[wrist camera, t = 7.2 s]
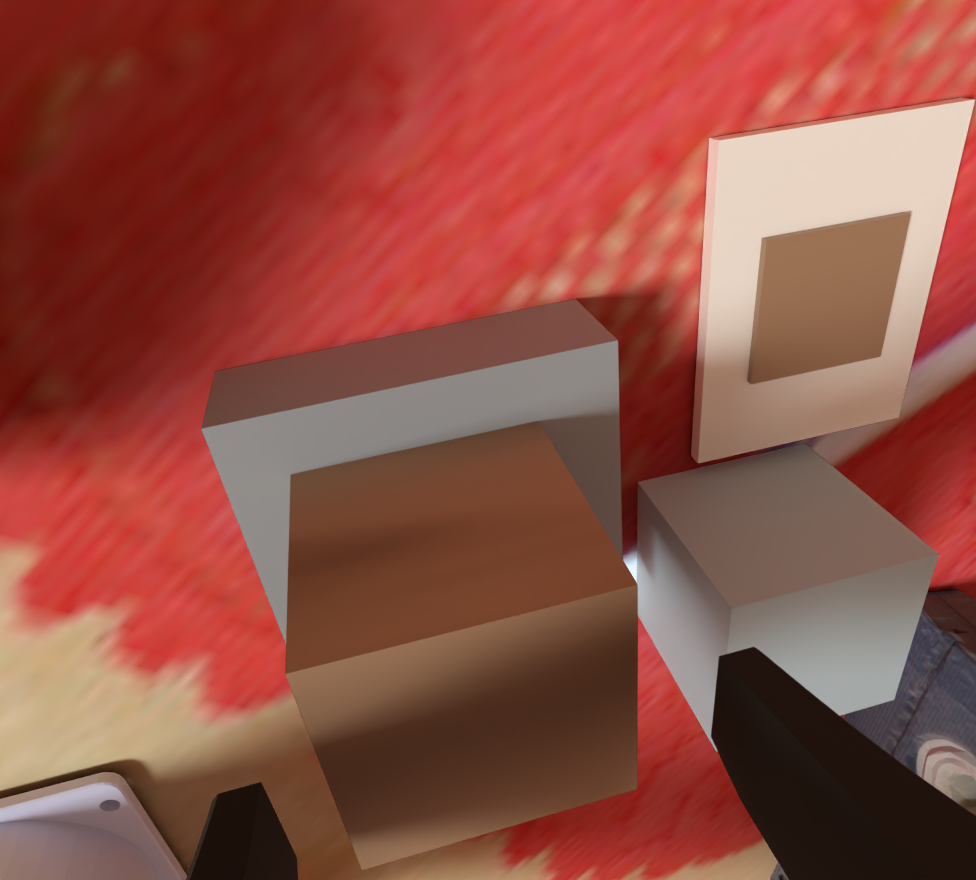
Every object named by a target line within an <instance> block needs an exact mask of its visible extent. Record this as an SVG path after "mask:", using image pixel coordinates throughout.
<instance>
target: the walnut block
mask: <svg viewBox="0 0 976 880" xmlns="http://www.w3.org/2000/svg"><path fill="white" fill-rule="evenodd" d="M285 675H286V677H287V680H288V682H289V685H290V687H291V690H292V693H293V695H294V698H295V700H296V703H297V705H298V708H299V711H300V713H301V716H302V718H303V721H304V723H305V726H306V728H307V731H308V734H309V736H310V739H311V741H312V744H313V746H314V749H315V752H316V754H317V757H318V759H319V762H320V764H321V767H322V769H323V772H324V775H325V777H326V780H327V782H328V785H329V787H330V790H331V793H332V795H333V798H334V800H335V803H336V805H337V808H338V810H339V813H340V816H341V818H342V821H343V823H344V826H345V828H346V831H347V833H348V836H349V839H350V841H351V844H352V846H353V849H354V851H355V854H356V857H357V859H358V862H359V864H360V867H361V869H362V870H365V869H368V868H372V867H375V866H378V865H382V864H385V863H389V862H392V861H395V860H399V859H402V858H406V857H409V856H412V855H416V854H419V853H422V852H426V851H429V850H433V849H436V848H439V847H443V846H446V845H450V844H453V843H456V842H460V841H463V840H467V839H470V838H473V837H477V836H480V835H483V834H487V833H490V832H494V831H497V830H500V829H504V828H507V827H511V826H514V825H517V824H521V823H524V822H528V821H531V820H534V819H538V818H541V817H545V816H548V815H551V814H555V813H558V812H561V811H565V810H568V809H572V808H575V807H578V806H582V805H585V804H589V803H592V802H595V801H599V800H602V799H606V798H609V797H612V796H616V795H619V794H622V793H626V792H629V791H633V790H636V789H637V679H638V584H637V583H636V581H635V579H634V578H633V576H632V575H631V573H630V571H629V570H628V568H627V566H626V565H625V563H624V561H623V560H622V558H621V556H620V555H619V553H618V551H617V550H616V548H615V547H614V545H613V543H612V542H611V540H610V538H609V537H608V535H607V533H606V532H605V530H604V528H603V527H602V525H601V523H600V522H599V520H598V519H597V517H596V515H595V514H594V512H593V510H592V509H591V507H590V505H589V504H588V502H587V500H586V499H585V497H584V495H583V494H582V492H581V491H580V489H579V487H578V486H577V484H576V482H575V481H574V479H573V477H572V476H571V474H570V472H569V471H568V469H567V467H566V466H565V464H564V463H563V461H562V459H561V458H560V456H559V454H558V453H557V451H556V449H555V448H554V446H553V444H552V443H551V441H550V439H549V438H548V436H547V435H546V433H545V431H544V430H543V428H542V426H541V425H540V423H539V421H536V422H531V423H526V424H522V425H517V426H513V427H508V428H503V429H499V430H494V431H489V432H485V433H480V434H475V435H471V436H466V437H461V438H457V439H452V440H447V441H443V442H438V443H433V444H429V445H424V446H419V447H415V448H410V449H405V450H401V451H396V452H392V453H387V454H382V455H378V456H373V457H369V458H364V459H359V460H355V461H350V462H346V463H341V464H336V465H332V466H327V467H322V468H318V469H313V470H309V471H304V472H299V473H295V474H291V475H290V513H289V551H288V589H287V628H286V666H285Z"/></svg>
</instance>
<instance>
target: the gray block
mask: <svg viewBox="0 0 976 880" xmlns="http://www.w3.org/2000/svg"><path fill="white" fill-rule="evenodd" d="M938 556H939V554H938V553H937V552H936V551H935V550H934V549H932V548H931V547H930V546H929V545H927V544H926V543H925V542H924V541H923V540H921V539H920V538H919V537H918V536H917V535H915V534H914V533H913V532H912V531H911V530H909V529H908V528H907V527H906V526H904V525H903V524H902V523H901V522H900V521H898V520H897V519H896V518H895V517H894V516H892V515H891V514H890V513H889V512H887V511H886V510H885V509H884V508H883V507H881V506H880V505H879V504H878V503H877V502H875V501H874V500H873V499H872V498H871V497H869V496H868V495H867V494H866V493H864V492H863V491H862V490H861V489H860V488H858V487H857V486H856V485H855V484H854V483H852V482H851V481H850V480H849V479H847V478H846V477H845V476H844V475H843V474H841V473H840V472H839V471H838V470H837V469H835V468H834V467H833V466H832V465H831V464H829V463H828V462H827V461H826V460H824V459H823V458H822V457H821V456H820V455H818V454H817V453H816V452H815V451H814V450H812V449H811V448H810V447H809V446H807V445H806V444H805V443H804V444H800V445H795V446H791V447H787V448H782V449H778V450H774V451H769V452H765V453H761V454H756V455H752V456H748V457H743V458H739V459H735V460H730V461H726V462H722V463H718V464H713V465H709V466H705V467H700V468H696V469H692V470H687V471H683V472H679V473H674V474H670V475H666V476H661V477H657V478H653V479H648V480H644V481H640V482H638V502H637V584H638V617H639V618H640V620H641V622H642V623H643V625H644V627H645V629H646V630H647V632H648V634H649V636H650V637H651V639H652V641H653V643H654V644H655V646H656V648H657V650H658V651H659V653H660V655H661V657H662V658H663V660H664V662H665V664H666V665H667V667H668V669H669V671H670V672H671V674H672V676H673V677H674V679H675V681H676V683H677V684H678V686H679V688H680V690H681V691H682V693H683V695H684V697H685V698H686V700H687V702H688V704H689V705H690V707H691V709H692V711H693V712H694V714H695V716H696V718H697V719H698V721H699V723H700V725H701V726H702V728H703V730H704V732H705V733H706V735H707V737H708V738H709V740H710V742H711V744H712V745H713V747H714V749H715V751H716V752H717V748H716V746H715V744H714V742H713V740H712V738H711V730H712V720H713V710H714V700H715V690H716V680H717V670H718V660H719V656H721V655H725V654H729V653H732V652H736V651H740V650H743V649H747V648H751V647H755V648H757V649H758V650H760V651H761V652H762V653H764V654H765V655H766V656H767V657H768V658H770V659H771V660H772V661H773V662H774V663H776V664H777V665H778V666H779V667H780V668H782V669H783V670H784V671H785V672H786V673H788V674H789V675H790V676H791V677H793V678H794V679H795V680H796V681H797V682H799V683H800V684H801V685H802V686H803V687H805V688H806V689H807V690H808V691H810V692H811V693H812V694H813V695H815V696H816V697H817V698H818V699H819V700H821V701H822V702H823V703H824V704H826V705H827V706H828V707H829V708H831V709H832V710H833V711H834V712H836V713H837V714H838V715H839V716H841V715H844V714H847V713H851V712H854V711H858V710H861V709H865V708H868V707H871V706H875V705H878V704H882V703H885V702H888V701H892V700H894V699H895V695H896V692H897V689H898V686H899V682H900V679H901V676H902V673H903V669H904V666H905V663H906V660H907V656H908V653H909V650H910V647H911V643H912V640H913V637H914V634H915V631H916V627H917V624H918V621H919V618H920V614H921V611H922V608H923V605H924V601H925V598H926V595H927V592H928V588H929V585H930V582H931V579H932V575H933V572H934V569H935V566H936V562H937V559H938Z"/></svg>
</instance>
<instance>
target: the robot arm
mask: <svg viewBox="0 0 976 880" xmlns="http://www.w3.org/2000/svg"><path fill="white" fill-rule="evenodd" d="M711 738H712V740H713V742H714V744H715V746H716V748H717V751H718V753H719V755H720V757H721V759H722V762H723V764H724V766H725V768H726V770H727V772H728V774H729V776H730V779H731V781H732V783H733V785H734V787H735V789H736V791H737V793H738V795H739V797H740V799H741V801H742V803H743V804H744V806H745V808H746V809H747V811H748V813H749V814H750V816H751V818H752V819H753V821H754V823H755V824H756V826H757V828H758V829H759V831H760V833H761V834H762V836H763V838H764V839H765V841H766V843H767V844H768V846H769V848H770V849H771V851H772V852H773V854H774V856H775V857H776V859H777V861H778V862H779V864H780V866H781V867H782V869H783V870H784V872H785V874H786V875H787V877H788V879H789V880H976V815H974V814H973V813H971V812H970V811H968V810H967V809H965V808H964V807H963V806H961V805H960V804H958V803H957V802H955V801H954V800H953V799H951V798H950V797H948V796H947V795H945V794H944V793H942V792H941V791H940V790H938V789H937V788H935V787H934V786H932V785H931V784H930V783H928V782H927V781H925V780H924V779H923V778H921V777H920V776H919V775H917V774H916V773H914V772H913V771H912V770H910V769H909V768H908V767H906V766H905V765H903V764H902V763H901V762H899V761H898V760H897V759H895V758H894V757H893V756H892V755H890V754H889V753H888V752H886V751H885V750H884V749H882V748H881V747H880V746H878V745H877V744H876V743H874V742H873V741H872V740H870V739H869V738H868V737H866V736H865V735H864V734H862V733H861V732H860V731H859V730H857V729H856V728H855V727H853V726H852V725H851V724H850V723H848V722H847V721H846V720H844V719H843V718H842V717H841V716H839V715H838V714H837V713H836V712H834V711H833V710H832V709H831V708H829V707H828V706H827V705H826V704H824V703H823V702H822V701H821V700H819V699H818V698H817V697H816V696H815V695H813V694H812V693H811V692H810V691H808V690H807V689H806V688H805V687H803V686H802V685H801V684H800V683H799V682H797V681H796V680H795V679H794V678H793V677H791V676H790V675H789V674H788V673H786V672H785V671H784V670H783V669H782V668H780V667H779V666H778V665H777V664H776V663H774V662H773V661H772V660H771V659H770V658H768V657H767V656H766V655H765V654H764V653H762V652H761V651H760V650H758V649H757V648H755V647H751V648H747V649H743V650H740V651H736V652H732V653H729V654H725V655H721V656H719V660H718V670H717V680H716V690H715V700H714V710H713V720H712V730H711ZM0 880H298V871H297V857H296V855H295V853H294V851H293V849H292V847H291V844H290V842H289V840H288V838H287V836H286V834H285V832H284V830H283V828H282V825H281V823H280V821H279V819H278V817H277V815H276V813H275V811H274V808H273V806H272V804H271V802H270V800H269V798H268V796H267V794H266V792H265V789H264V787H263V785H262V783H261V782H260V783H256V784H252V785H249V786H245V787H242V788H238V789H234V790H231V791H227V792H223V793H220V794H218V795H217V796H216V797H215V799H214V800H213V801H212V805H211V808H210V811H209V814H208V817H207V820H206V823H205V826H204V829H203V832H202V835H201V838H200V841H199V844H198V847H197V850H196V853H195V856H194V859H193V861H192V864H191V867H190V870H189V872H188V875H186V873H185V872H184V870H183V868H182V867H181V865H180V864H179V862H178V861H177V859H176V858H175V856H174V855H173V853H172V851H171V850H170V848H169V847H168V845H167V844H166V842H165V841H164V839H163V838H162V836H161V835H160V833H159V831H158V830H157V828H156V827H155V825H154V824H153V822H152V821H151V819H150V818H149V816H148V814H147V813H146V811H145V810H144V808H143V807H142V805H141V804H140V802H139V801H138V799H137V798H136V796H135V794H134V793H133V791H132V790H131V788H130V787H129V785H128V784H127V782H126V781H125V779H124V778H123V777H122V776H121V775H119V774H116V773H114V772H102V773H97V774H94V775H90V776H86V777H82V778H78V779H74V780H71V781H67V782H63V783H59V784H55V785H52V786H48V787H44V788H40V789H36V790H32V791H29V792H25V793H21V794H17V795H13V796H10V797H6V798H2V799H0Z"/></svg>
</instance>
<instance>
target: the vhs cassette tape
mask: <svg viewBox="0 0 976 880" xmlns="http://www.w3.org/2000/svg"><path fill="white" fill-rule="evenodd" d="M844 720H846V721H847V722H848V723H850V724H851V725H852V726H853V727H855V728H856V729H857V730H859V731H860V732H861V733H862V734H864V735H865V736H866V737H868V738H869V739H870V740H872V741H873V742H874V743H876V744H877V745H878V746H880V747H881V748H882V749H884V750H885V751H886V752H888V753H889V754H890V755H892V756H893V757H894V758H895V759H897V760H898V761H899V762H901V763H902V764H903V765H905V766H906V767H908V768H909V769H910V770H912V771H913V772H914V773H916V774H917V775H919V776H920V777H921V778H923V779H924V780H925V781H927V782H928V783H930V784H931V785H932V786H934V787H935V788H937V789H938V790H940V791H941V792H942V793H944V794H945V795H947V796H948V797H950V798H951V799H953V800H954V801H955V802H957V803H958V804H960V805H961V806H963V807H964V808H965V809H967V810H968V811H970V812H971V813H973V814H974V815H976V600H974V599H973V598H972V597H970V596H969V595H967V594H965V593H964V592H963V591H959V590H950V591H937V592H927V595H926V598H925V601H924V605H923V608H922V611H921V614H920V618H919V621H918V624H917V627H916V631H915V634H914V637H913V640H912V643H911V647H910V650H909V653H908V656H907V660H906V663H905V666H904V669H903V673H902V676H901V679H900V682H899V686H898V689H897V692H896V695H895V699H894V700H892V701H888V702H885V703H882V704H878V705H875V706H871V707H868V708H865V709H861V710H858V711H854V712H851V713H847V714H845V717H844ZM771 880H789V879H788V877H787V875H786V874H785V872H784V870H783V869H782V867H781V866H780V864H779V862H778V863H777V865H776V868H775V870H774V872H773V874H772V876H771Z"/></svg>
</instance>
